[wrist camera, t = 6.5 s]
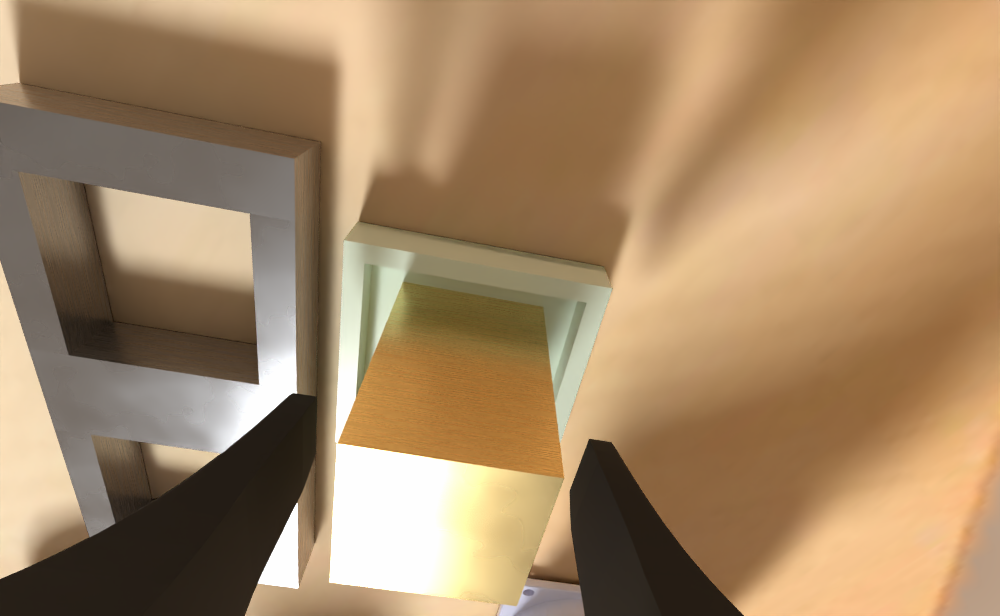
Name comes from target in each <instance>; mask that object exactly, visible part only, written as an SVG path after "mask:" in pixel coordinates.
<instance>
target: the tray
mask: <svg viewBox="0 0 1000 616" xmlns="http://www.w3.org/2000/svg"><path fill="white" fill-rule="evenodd" d="M403 282H408V283H414V284H419V285H425V286H431V287H436V288H442V289H447V290H453V291H458V292H464V293H469V294H475V295H480V296H486V297H492V298H497V299H503V300H508V301H514V302H519V303H525V304H530V305H536V306H541V307H543V309H544V317H545V325H546V333H547V342H548V350H549V358H550V366H551V374H552V383H553V391H554V399H555V407H556V416H557V424H558V432H559V440H560V442H561V439H562V436H563V433H564V430H565V427H566V425H567V422H568V419H569V416H570V413H571V410H572V407H573V404H574V401H575V398H576V395H577V392H578V389H579V386H580V383H581V380H582V377H583V374H584V371H585V368H586V365H587V363H588V360H589V357H590V354H591V351H592V348H593V345H594V342H595V339H596V336H597V333H598V330H599V327H600V324H601V321H602V318H603V315H604V312H605V309H606V306H607V303H608V301H609V298H610V295H611V292H612V289H613V288H612V286H611V283H610V281H609V278H608V276H607V273H606V270H605V268H604V267H603V266H597V265H592V264H587V263H581V262H576V261H570V260H565V259H559V258H554V257H548V256H543V255H538V254H532V253H527V252H521V251H516V250H510V249H505V248H499V247H494V246H489V245H483V244H478V243H472V242H467V241H461V240H456V239H450V238H445V237H440V236H434V235H429V234H423V233H418V232H412V231H407V230H401V229H396V228H391V227H385V226H380V225H374V224H369V223H363V222H357V223H356V225H355V226H354V227H353V229H352V230H351V231H350V233H349V234H348V235H347V237H346V238H345V239H344V250H343V274H342V298H341V321H340V345H339V369H338V393H337V417H336V440H335V442H337V443H338V440H339V438H340V435H341V433H342V431H343V428H344V426H345V423H346V421H347V418H348V416H349V413H350V411H351V408H352V406H353V403H354V401H355V399H356V396H357V394H358V391H359V389H360V386H361V384H362V381H363V379H364V376H365V374H366V372H367V369H368V367H369V364H370V362H371V359H372V357H373V354H374V352H375V349H376V347H377V344H378V342H379V340H380V337H381V335H382V332H383V330H384V327H385V325H386V322H387V320H388V317H389V315H390V312H391V310H392V308H393V305H394V303H395V300H396V298H397V295H398V293H399V290H400V288H401V285H402V283H403Z"/></svg>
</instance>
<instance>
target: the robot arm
mask: <svg viewBox="0 0 1000 616" xmlns="http://www.w3.org/2000/svg"><path fill="white" fill-rule="evenodd" d="M316 425H317V396H310V395H304V394H297V393H292V394H290V395H289V396H288V397H286V398H285V399H284V400H283V401H282V402H281V403H280V404H279V405H278V406H277V407H276V408H274V409H273V410H272V411H271V412H270V413H269V414H268V415H267V416H265V417H264V418H263V419H262V420H261V421H260V422H259V423H257V424H256V425H255V426H254V427H253V428H252V429H251V430H249V431H248V432H247V433H246V434H244V435H243V436H242V437H241V438H240V439H238V440H237V441H236V442H235V443H234V444H232V445H231V446H230V447H229V448H227V449H226V450H225V451H224V452H222V453H221V454H220V455H218V456H217V457H216V458H214V459H213V460H212V461H210V462H209V463H208V464H206V465H205V466H204V467H202V468H201V469H200V470H198V471H197V472H196V473H194V474H193V475H192V476H190V477H189V478H187V479H186V480H184V481H183V482H182V483H180V484H179V485H177V486H176V487H174V488H173V489H171V490H170V491H168V492H166V493H165V494H163V495H162V496H160V497H159V498H157V499H156V500H154V501H152V502H151V503H149V504H148V505H146V506H144V507H143V508H141V509H139V510H137V511H136V512H134V513H132V514H131V515H129V516H127V517H126V518H124V519H122V520H121V521H119V522H117V523H115V524H113V525H112V526H110V527H108V528H106V529H104V530H103V531H101V532H99V533H97V534H95V535H93V536H91V537H89V538H87V539H85V540H83V541H81V542H79V543H77V544H75V545H73V546H71V547H69V548H68V549H66V550H64V551H62V552H59V553H57V554H55V555H53V556H51V557H49V558H47V559H45V560H43V561H41V562H38V563H36V564H34V565H32V566H30V567H27V568H25V569H23V570H20V571H18V572H16V573H13V574H11V575H9V576H7V577H4V578H2V579H0V616H245V613H246V611H247V608H248V605H249V603H250V600H251V598H252V595H253V593H254V590H255V588H256V586H257V584H258V581H259V579H260V577H261V575H262V573H263V571H264V569H265V567H266V565H267V563H268V561H269V558H270V556H271V554H272V552H273V550H274V548H275V546H276V544H277V542H278V540H279V538H280V536H281V534H282V532H283V530H284V528H285V526H286V524H287V522H288V520H289V518H290V516H291V514H292V512H293V510H294V508H295V506H296V504H297V502H298V500H299V498H300V496H301V494H302V492H303V489H304V486H305V484H306V481H307V478H308V476H309V473H310V470H311V467H312V464H313V461H314V458H315V455H316ZM570 517H571V532H572V538H573V545H574V551H575V558H576V564H577V570H578V577H579V583H580V585H575V584H568V583H560V582H552V581H545V580H537V579H529V578H527V580H526V583H525V586H524V589H523V591H522V594H521V597H520V599H519V602H518V605H517V606H510V605H503V604H500V606H499V609H498V612H497V615H496V616H744V615H743V614H742V613H741V612H740V611H739V610H738V609H737V608H736V607H735V606H734V605H733V604H732V603H731V602H730V601H729V600H728V599H727V598H726V597H725V596H724V595H723V594H722V593H721V592H720V591H719V590H718V588H717V587H716V586H715V585H714V584H713V583H712V582H711V581H710V580H709V579H708V577H707V576H706V575H705V574H704V573H703V572H702V570H701V569H700V568H699V567H698V566H697V565H696V564H695V562H694V561H693V560H692V559H691V558H690V556H689V555H688V554H687V553H686V552H685V550H684V549H683V548H682V547H681V545H680V544H679V543H678V541H677V540H676V539H675V537H674V536H673V535H672V533H671V532H670V531H669V529H668V528H667V527H666V525H665V524H664V523H663V521H662V520H661V518H660V517H659V515H658V514H657V513H656V511H655V510H654V508H653V507H652V505H651V504H650V502H649V501H648V499H647V498H646V496H645V495H644V493H643V492H642V490H641V489H640V487H639V485H638V484H637V482H636V481H635V479H634V478H633V476H632V474H631V473H630V471H629V470H628V468H627V466H626V465H625V463H624V462H623V460H622V458H621V457H620V455H619V453H618V452H617V450H616V449H615V447H614V446H613V444H612V442H606V441H600V440H594V439H589V441H588V444H587V446H586V449H585V452H584V454H583V457H582V460H581V462H580V465H579V468H578V470H577V473H576V476H575V478H574V481H573V484H572V486H571V489H570Z"/></svg>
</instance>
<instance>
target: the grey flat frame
mask: <svg viewBox="0 0 1000 616" xmlns="http://www.w3.org/2000/svg"><path fill="white" fill-rule="evenodd" d="M320 153H321V142H318V141H313V140H308V139H303V138H298V137H293V136H288V135H282V134H277V133H272V132H267V131H262V130H257V129H252V128H246V127H241V126H236V125H231V124H226V123H221V122H216V121H211V120H205V119H200V118H195V117H190V116H185V115H180V114H175V113H170V112H164V111H159V110H154V109H149V108H144V107H139V106H134V105H128V104H123V103H118V102H113V101H108V100H103V99H98V98H93V97H87V96H82V95H77V94H72V93H67V92H62V91H57V90H52V89H46V88H41V87H36V86H31V85H26V84H21V83H14V84H6V85H0V261H1V264H2V267H3V271H4V274H5V277H6V280H7V283H8V286H9V289H10V292H11V295H12V298H13V302H14V305H15V308H16V311H17V314H18V317H19V320H20V323H21V326H22V329H23V333H24V336H25V339H26V342H27V345H28V348H29V351H30V354H31V357H32V360H33V364H34V367H35V370H36V373H37V376H38V379H39V382H40V385H41V388H42V391H43V395H44V398H45V401H46V404H47V407H48V410H49V413H50V416H51V419H52V422H53V426H54V429H55V432H56V435H57V438H58V441H59V444H60V447H61V450H62V453H63V457H64V460H65V463H66V466H67V469H68V472H69V475H70V478H71V481H72V485H73V488H74V491H75V494H76V497H77V500H78V503H79V506H80V509H81V512H82V516H83V519H84V522H85V525H86V528H87V531H88V534H89V537H91V536H93V535H95V534H97V533H99V532H101V531H103V530H104V529H106V528H108V527H110V526H112V525H113V524H115V523H117V522H119V521H121V520H122V519H124V518H126V517H127V516H129V515H131V514H132V513H134V512H136V511H137V510H139V509H141V508H143V507H144V506H146V505H148V504H149V503H151V502H152V501H154V500H152V499H151V494H150V489H149V485H148V480H147V475H146V471H145V466H144V462H143V457H142V452H141V448H140V443H139V442H145V443H152V444H159V445H166V446H173V447H180V448H187V449H194V450H201V451H208V452H215V453H222V452H224V451H225V450H226V449H227V448H229V447H230V446H231V445H232V444H234V443H235V442H236V441H237V440H238V439H240V438H241V437H242V436H243V435H244V434H246V433H247V432H248V431H249V430H251V429H252V428H253V427H254V426H255V425H256V424H257V423H259V422H260V421H261V420H262V419H263V418H264V417H265V416H267V415H268V414H269V413H270V412H271V411H272V410H273V409H274V408H276V407H277V406H278V405H279V404H280V403H281V402H282V401H283V400H284V399H285V398H286V397H288V396H289V395H290V394H292V393H297V394H304V395H310V396H317V338H318V276H319V215H320ZM83 183H85V184H90V185H96V186H101V187H107V188H112V189H118V190H123V191H129V192H134V193H140V194H145V195H151V196H156V197H162V198H167V199H173V200H178V201H184V202H189V203H195V204H200V205H206V206H211V207H217V208H222V209H228V210H233V211H239V212H244V213H250V223H251V242H252V260H253V278H254V297H255V315H256V334H257V345H255V344H249V343H242V342H236V341H230V340H224V339H218V338H212V337H205V336H199V335H193V334H187V333H181V332H174V331H168V330H162V329H156V328H150V327H144V326H137V325H131V324H125V323H119V322H113V318H112V314H111V309H110V305H109V300H108V295H107V291H106V286H105V281H104V277H103V272H102V268H101V263H100V258H99V254H98V249H97V244H96V240H95V235H94V231H93V226H92V221H91V217H90V212H89V208H88V203H87V198H86V194H85V189H84V184H83ZM315 461H316V455H315V458H314V461H313V464H312V467H311V470H310V473H309V476H308V478H307V481H306V484H305V486H304V489H303V492H302V494H301V496H300V498H299V500H298V502H297V504H296V506H295V508H294V510H293V512H292V514H291V516H290V518H289V520H288V522H287V524H286V526H285V528H284V530H283V532H282V534H281V536H280V538H279V540H278V542H277V544H276V546H275V548H274V550H273V552H272V554H271V556H270V558H269V561H268V563H267V565H266V567H265V569H264V571H263V573H262V575H261V577H260V579H259V581H258V583H259V584H267V585H275V586H283V587H291V588H298V587H299V585H300V582H301V579H302V577H303V574H304V571H305V569H306V566H307V563H308V561H309V558H310V555H311V552H312V550H313V547H314V523H315Z"/></svg>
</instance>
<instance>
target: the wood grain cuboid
mask: <svg viewBox="0 0 1000 616" xmlns="http://www.w3.org/2000/svg"><path fill="white" fill-rule="evenodd" d="M563 480H564V473H563V465H562V457H561V448H560V440H559V432H558V424H557V416H556V407H555V399H554V391H553V383H552V374H551V366H550V358H549V350H548V342H547V333H546V325H545V317H544V309H543V307H541V306H536V305H530V304H525V303H519V302H514V301H508V300H503V299H497V298H492V297H486V296H480V295H475V294H469V293H464V292H458V291H453V290H447V289H442V288H436V287H431V286H425V285H419V284H414V283H408V282H403V283H402V285H401V288H400V290H399V293H398V295H397V298H396V300H395V303H394V305H393V308H392V310H391V312H390V315H389V317H388V320H387V322H386V325H385V327H384V330H383V332H382V335H381V337H380V340H379V342H378V344H377V347H376V349H375V352H374V354H373V357H372V359H371V362H370V364H369V367H368V369H367V372H366V374H365V376H364V379H363V381H362V384H361V386H360V389H359V391H358V394H357V396H356V399H355V401H354V403H353V406H352V408H351V411H350V413H349V416H348V418H347V421H346V423H345V426H344V428H343V431H342V433H341V435H340V438H339V440H338V443H337V456H336V475H335V494H334V513H333V533H332V552H331V571H330V582H333V583H341V584H349V585H356V586H364V587H372V588H379V589H387V590H395V591H403V592H410V593H418V594H426V595H433V596H441V597H449V598H456V599H464V600H472V601H480V602H487V603H495V604H503V605H510V606H517V605H518V602H519V599H520V597H521V594H522V591H523V589H524V586H525V583H526V580H527V578H528V575H529V572H530V570H531V567H532V564H533V561H534V559H535V556H536V553H537V551H538V548H539V545H540V542H541V540H542V537H543V534H544V532H545V529H546V526H547V523H548V521H549V518H550V515H551V513H552V510H553V507H554V505H555V502H556V499H557V496H558V494H559V491H560V488H561V486H562V483H563Z"/></svg>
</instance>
